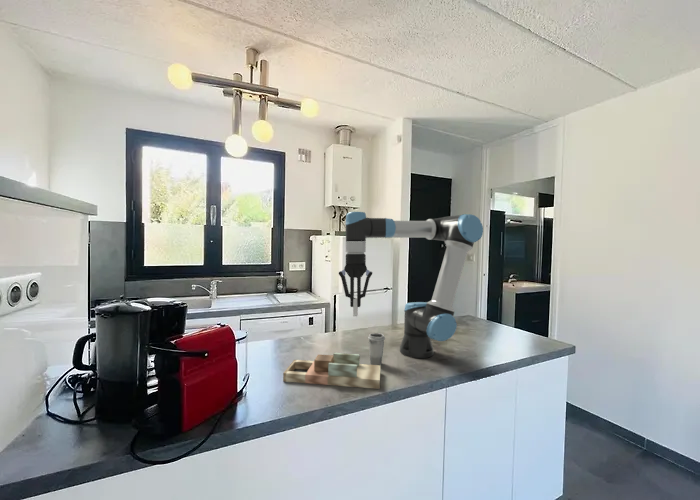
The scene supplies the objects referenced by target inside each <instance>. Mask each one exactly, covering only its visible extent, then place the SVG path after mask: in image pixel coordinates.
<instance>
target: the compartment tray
mask: <svg viewBox="0 0 700 500" xmlns="http://www.w3.org/2000/svg"><path fill="white" fill-rule="evenodd" d="M332 355H334V363H329V364H328V372H318V371H314V360H308V359H307V360H305V359H293V360H292V361H291V363H289V365H288V367H287V368H286V369H285V370H284V371H283V374H282V375H283V377H282V378H283V379H282V381H283V382H287V383H300V384H311V385H324V386H325V385H326V386H338V387H351V388H365V389H377V390H378V389H380V384H381V365H371V364H365V363H364V364H363V363H360V362H361V361H360V360H361V359H360V356H361V355H360V354H359V353H342V352H341V353H340V352H333V354H332Z"/></svg>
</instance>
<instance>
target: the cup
mask: <svg viewBox="0 0 700 500" xmlns="http://www.w3.org/2000/svg"><path fill="white" fill-rule="evenodd" d="M367 339H368V349H369V350H368V352H369V354H368V355H369V365H380V366H382V364H383V357H384V356H383V355H384V346H385V341H386V337H385V335H384V334H383V333H379V332H372V333H369V335H368V336H367Z"/></svg>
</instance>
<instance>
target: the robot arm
mask: <svg viewBox="0 0 700 500" xmlns="http://www.w3.org/2000/svg"><path fill="white" fill-rule="evenodd" d="M344 225H345V252H346V254H345V265H344V267H343V270H340V271H338V276H340V278H341V282H342V283H341V284H342V286H343V291H344V295H345V297H346V298H349V300H350V301H349V302H350V305H349V306H350V308H353V309H352V311H353V312H352V316H353V317H358V316H359V315H358V313H359V311H358V310H359V309H358V308H361V305H362V303H361V299H362V298H365V297H366V295H367V290H368V287H369V282H370V278H371V276H372V275H373V271H370V270H369V269H368V267H367V264H366V261H367V260H366V259H367V257H366V254H365V253H366V247H367V246H366V245H367V244H366V243H367V242H366V241H367V240H366V239H378V238H380V239H381V238H383V239H384V238H385V239H386V238H393V239H395V238H396V239H398V238H403V239H404V238H406V239H407V238H409V239H410V238H411V239H412V238H413V239H414V238H418V239H419V238H425V239H426V240H429V241H430V240H431V241H432V240H433V241H434V240H435V241H442V242H444V244H445V246H446V249H445V251H444V256H443V259H442V263H441V265H440V266H441V267H440V270H439V273H438V276H437V280H436V283H435V286H434V291H433V293H432V297H431V300H429V301H425V302H424V301H416V302H415V301H414V302H413V301H412V302H407V303H405V305H404V310H403V311H404V324H403V325H404V326H403V327H404V330H403V332H404V333H403V337H402V340H401V343H400V346H399V352H400V353H401V354H402V355H404V356H406V357H409V358H415V359H426V358H432V357H433V356H434V353H435V351H434V350H435V349H434V346H433V342H432V340H435V341H438V342H445V341H447V340H449V339H451V338H452V337H453V336H454V335H455V333H456V331H457V327H458V326H457V325H458V323H457V322H456V321H457V320H456V318H455V317H454V315H455V310H454V308H453V304H454V300H455V298H456V293H457V289H458V286H459V282H460V278H461V276H462V272H463V268H464V265H465V261H466V258H467V255H468V252H469V251H471V250H473V247H474V243H477V242H479V240H481V239H482V237H483V234H484V226H483V223H482V222H481V220H480V218H479V217H478V216H476V215H475V214H473V213H472V214H471V213H469V214H466V213H464V214H459V215H458V214H457V215H449V216H443V217H438V218H428V219H426V220H394V219H392V218H387V217H367V215H366V212H365V211H350V212H347V213H346V215H345V224H344ZM364 274H365V276H366V277H365V282H364V285H363V290H362V284H361V283H362V277H363V276H364ZM346 275H347V276H348V277H349V278H350V281H349V283H350V287H349V288H350V290H349V288H348V282H347V278H346ZM355 279H356V282H357V283H356V285H357V286H356V297H355ZM361 290H362V291H361ZM361 292H362V293H361Z"/></svg>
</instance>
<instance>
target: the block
mask: <svg viewBox="0 0 700 500" xmlns="http://www.w3.org/2000/svg"><path fill="white" fill-rule="evenodd" d="M313 361H314V371H318V372H328V364H329V363H334V355H333V354H319V353H318V354H317V355H316V357H315V359H314V360H313Z"/></svg>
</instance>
